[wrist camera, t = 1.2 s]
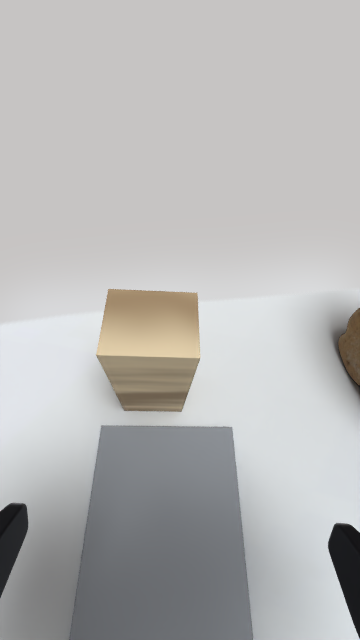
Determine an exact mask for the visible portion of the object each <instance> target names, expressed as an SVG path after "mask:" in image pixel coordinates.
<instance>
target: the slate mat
mask: <svg viewBox="0 0 360 640" xmlns="http://www.w3.org/2000/svg"><path fill="white" fill-rule="evenodd" d="M69 640H253V634H252V623H251V613H250V603H249V593H248V583H247V573H246V563H245V553H244V543H243V532H242V522H241V512H240V502H239V492H238V482H237V472H236V462H235V451H234V441H233V431H232V427H176V426H101V433H100V439H99V446H98V453H97V459H96V466H95V472H94V479H93V486H92V492H91V499H90V506H89V512H88V519H87V526H86V532H85V539H84V546H83V552H82V559H81V566H80V572H79V579H78V586H77V592H76V599H75V605H74V612H73V619H72V625H71V632H70V639H69Z"/></svg>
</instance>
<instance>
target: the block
mask: <svg viewBox="0 0 360 640" xmlns="http://www.w3.org/2000/svg"><path fill="white" fill-rule="evenodd" d="M338 346H339V351H340V355H341V358H342V360H343V363H344V365H345V368H346V370H347V372H348V373H349V375H350V376H351V377H352V379H353V380H354V381H355V382H356V383H357V384H358V385H359V386H360V308H359V309H358V310H356V312H355V313H354V314H353V315H352V316H351V317H350V319H349V322H348V326H347V330H346V333H345V334H342V335H341V336H340V337H339V342H338Z"/></svg>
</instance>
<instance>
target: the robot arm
mask: <svg viewBox="0 0 360 640" xmlns="http://www.w3.org/2000/svg"><path fill="white" fill-rule="evenodd" d="M27 530H28V515H27V506H26V505H25V504H24V503H11V504H9V505H7V506H6V507H5V508H4V509H3V510H1V511H0V597H1V595H2V593H3V590H4V588H5V585H6V583H7V580H8V578H9V575H10V573H11V570H12V568H13V565H14V563H15V561H16V558H17V556H18V553H19V551H20V548H21V546H22V543H23V541H24V538H25V536H26V533H27ZM328 549H329V553H330V556H331V559H332V562H333V565H334V568H335V571H336V574H337V577H338V580H339V582H340V585H341V588H342V591H343V594H344V597H345V600H346V603H347V606H348V609H349V612H350V615H351V617H352V620H353V623H354V626H355V628H356V631H357V633H358V636H359V638H360V533H359V532H358V531H357V530H356V529H355V528H354V527H353V526H351V525H350V524H344V523H336V524H335V525H334V527H333V530H332V533H331V536H330V539H329V542H328Z"/></svg>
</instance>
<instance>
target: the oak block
mask: <svg viewBox="0 0 360 640" xmlns="http://www.w3.org/2000/svg"><path fill="white" fill-rule="evenodd" d="M96 356H97V358H98V360H99V362H100V363H101V365H102V367H103V369H104V371H105V373H106V375H107V377H108V379H109V381H110V383H111V385H112V387H113V389H114V391H115V393H116V395H117V397H118V399H119V401H120V403H121V405H122V407H123V409H124V410H125V411H178V412H182V409H183V406H184V403H185V400H186V397H187V395H188V392H189V389H190V386H191V383H192V380H193V377H194V375H195V372H196V369H197V366H198V363H199V360H200V342H199V319H198V296H197V293H187V292H186V293H185V292H165V291H142V290H118V289H117V290H116V289H108V295H107V300H106V305H105V311H104V316H103V321H102V327H101V332H100V338H99V343H98V348H97V354H96Z"/></svg>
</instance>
